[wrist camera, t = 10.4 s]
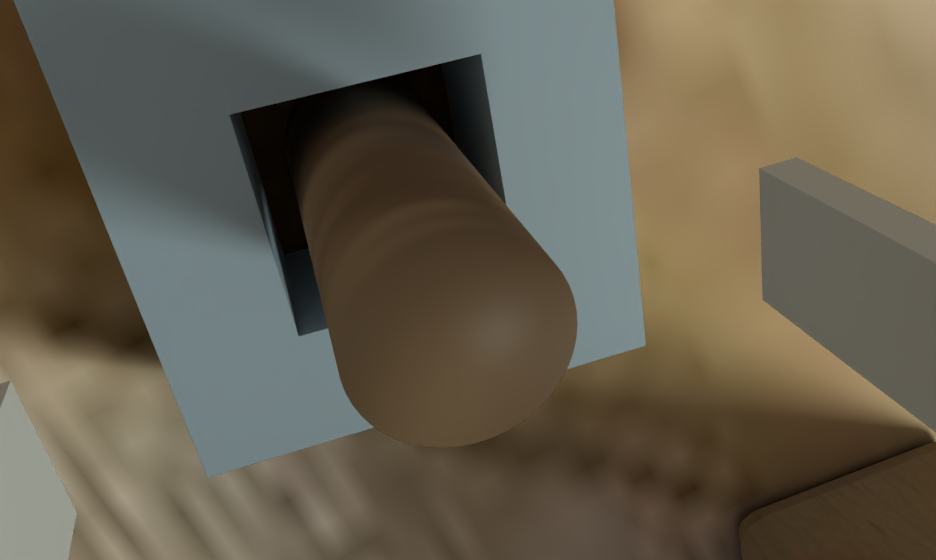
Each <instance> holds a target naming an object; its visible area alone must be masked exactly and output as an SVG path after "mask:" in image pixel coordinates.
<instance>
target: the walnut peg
mask: <svg viewBox="0 0 936 560" xmlns="http://www.w3.org/2000/svg"><path fill="white" fill-rule="evenodd" d="M284 145H285V151H286V156H287V160H288V164H289V168H290V172H291V177H292V181H293V185H294V189H295V193H296V197H297V202H298V206H299V210H300V214H301V218H302V222H303V227H304V231H305V235H306V239H307V243H308V247H309V252H310V256H311V260H312V264H313V268H314V272H315V277H316V281H317V285H318V289H319V293H320V297H321V302H322V306H323V310H324V314H325V318H326V322H327V327H328V331H329V335H330V339H331V343H332V347H333V352H334V356H335V360H336V364H337V368H338V372H339V377H340V380H341V383H342V386H343V388H344V391H345V393H346V395H347V397H348V398H349V400H350V402H351V404H352V405H353V406H354V408H355V409H356V410H357V411H358V413H359V414H360V415H361V416H362V417H363V418H364V419H365V420H366V421H367V422H368V423H369V424H370V425H372V426H373V427H375V428H376V429H378V430H379V431H381V432H382V433H384V434H386V435H388V436H390V437H392V438H394V439H396V440H399V441H402V442H405V443H408V444H413V445H417V446H422V447H434V448H448V447H458V446H465V445H470V444H474V443H478V442H482V441H484V440H487V439H490V438H493V437H495V436H497V435H499V434H502V433H504V432H506V431H508V430H510V429H511V428H513V427H514V426H516V425H518V424H519V423H521V422H522V421H524V420H525V419H526V418H527V417H529V416H530V415H531V414H533V413H534V412H535V411H536V410H537V409H538V408H539V407H540V406H541V405H542V404H543V403H544V402H545V401H546V400H547V399H548V397H549V396H550V395H551V394H552V393H553V391H554V390H555V389H556V387H557V386H558V384H559V383H560V381H561V380H562V378H563V376H564V374H565V372H566V370H567V368H568V366H569V363H570V360H571V358H572V355H573V352H574V347H575V343H576V338H577V326H578V323H577V310H576V305H575V300H574V296H573V294H572V291H571V288H570V286H569V284H568V282H567V280H566V278H565V276H564V275H563V273H562V272H561V270H560V269H559V268H558V266H557V265H556V264H555V263H554V261H553V260H552V259H551V258H550V257H549V255H548V254H547V253H546V252H545V251H544V250H543V248H542V247H541V246H540V245H539V244H538V242H537V241H536V240H535V239H534V238H533V236H532V235H531V234H530V233H529V232H528V230H527V229H526V228H525V227H524V226H523V225H522V223H521V222H520V221H519V220H518V219H517V217H516V216H515V215H514V214H513V213H512V211H511V210H510V209H509V208H508V207H507V205H506V204H505V203H504V202H503V201H502V200H501V198H500V197H499V196H498V195H497V194H496V192H495V191H494V190H493V189H492V188H491V186H490V185H489V184H488V183H487V182H486V180H485V179H484V178H483V177H482V176H481V175H480V173H479V172H478V171H477V170H476V169H475V167H474V166H473V165H472V164H471V163H470V161H469V160H468V159H467V158H466V157H465V156H464V154H463V153H462V152H461V151H460V150H459V148H458V147H457V146H456V145H455V144H454V142H453V141H452V140H451V139H450V138H449V136H448V135H447V134H446V133H445V132H444V131H443V129H442V128H441V127H440V126H439V125H438V123H437V122H436V121H435V120H434V119H433V117H432V116H431V115H430V114H429V113H428V111H427V110H426V109H425V108H424V107H423V106H422V104H421V103H420V102H419V101H418V100H417V98H416V97H415V96H414V95H413V94H412V92H411V91H410V90H409V89H408V88H407V87H406V86H405V85H404V84H403V83H402V82H400V81H399V80H397V79H396V78H395V77H393V76H387V77H383V78H379V79H375V80H371V81H366V82H362V83H358V84H354V85H350V86H346V87H342V88H338V89H333V90H329V91H325V92H321V93H317V94H313V95H309V96H305V97H300V98H296V100H295V101H294V103H293V105H292V107H291V109H290V111H289V113H288V116H287V119H286V124H285V130H284Z"/></svg>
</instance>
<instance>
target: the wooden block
mask: <svg viewBox="0 0 936 560" xmlns="http://www.w3.org/2000/svg"><path fill="white" fill-rule="evenodd" d="M739 538H740V547H741V556H742V560H936V442H931V443H928V444H926V445H923V446H920V447H918V448H915V449H913V450H910V451H907V452H905V453H902V454H900V455H897V456H895V457H892V458H889V459H887V460H884V461H882V462H879V463H876V464H874V465H871V466H869V467H866V468H864V469H861V470H858V471H856V472H853V473H851V474H848V475H845V476H843V477H840V478H838V479H835V480H833V481H830V482H827V483H825V484H822V485H820V486H817V487H814V488H812V489H809V490H807V491H804V492H801V493H799V494H796V495H794V496H791V497H789V498H786V499H783V500H781V501H778V502H776V503H773V504H770V505H768V506H765V507H763V508H760V509H758V510H755V511H753V512H752V513H751V514H749V515H748V516H747V517H746V518H745V519H744V520H742V522H741V525H740V528H739Z"/></svg>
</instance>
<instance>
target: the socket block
mask: <svg viewBox="0 0 936 560" xmlns="http://www.w3.org/2000/svg"><path fill="white" fill-rule="evenodd" d="M14 3H15V5H16V8H17V10H18V13H19V15H20V18H21V20H22V23H23V25H24V27H25V30H26V32H27V35H28V37H29V40H30V42H31V45H32V47H33V50H34V52H35V55H36V57H37V59H38V62H39V64H40V67H41V69H42V72H43V74H44V77H45V79H46V82H47V84H48V86H49V89H50V91H51V94H52V96H53V99H54V101H55V104H56V106H57V109H58V111H59V114H60V116H61V118H62V121H63V123H64V126H65V128H66V131H67V133H68V136H69V138H70V141H71V143H72V145H73V148H74V150H75V153H76V155H77V158H78V160H79V163H80V165H81V168H82V170H83V173H84V175H85V177H86V180H87V182H88V185H89V187H90V190H91V192H92V195H93V197H94V200H95V202H96V205H97V207H98V209H99V212H100V214H101V217H102V219H103V222H104V224H105V227H106V229H107V232H108V234H109V236H110V239H111V241H112V244H113V246H114V249H115V251H116V254H117V256H118V259H119V261H120V264H121V266H122V268H123V271H124V273H125V276H126V278H127V281H128V283H129V286H130V288H131V291H132V293H133V295H134V298H135V300H136V303H137V305H138V308H139V310H140V313H141V315H142V318H143V320H144V323H145V325H146V327H147V330H148V332H149V335H150V337H151V340H152V342H153V345H154V347H155V350H156V352H157V354H158V357H159V359H160V362H161V364H162V367H163V369H164V372H165V374H166V377H167V379H168V382H169V384H170V386H171V389H172V391H173V394H174V396H175V399H176V401H177V404H178V406H179V409H180V411H181V414H182V416H183V418H184V421H185V423H186V426H187V428H188V431H189V433H190V436H191V438H192V441H193V443H194V445H195V448H196V450H197V453H198V455H199V458H200V460H201V463H202V465H203V468H204V470H205V473H206V475H207V477H212V476H215V475H218V474H222V473H225V472H228V471H232V470H235V469H238V468H242V467H245V466H248V465H252V464H255V463H258V462H262V461H265V460H268V459H271V458H275V457H278V456H281V455H285V454H288V453H291V452H295V451H298V450H301V449H305V448H308V447H311V446H315V445H318V444H321V443H324V442H328V441H331V440H334V439H338V438H341V437H344V436H348V435H351V434H354V433H358V432H361V431H364V430H368V429H371V428H374V427H373V426H372V425H370V424H369V423H368V422H367V421H366V420H365V419H364V418H363V417H362V416H361V415H360V414H359V413H358V411H357V410H356V409H355V408H354V406H353V405H352V404H351V402H350V400H349V398H348V397H347V395H346V393H345V391H344V388H343V386H342V383H341V380H340V377H339V372H338V368H337V364H336V360H335V356H334V352H333V347H332V343H331V339H330V335H329V331H328V327H327V322H326V318H325V314H324V310H323V306H322V302H321V297H320V293H319V289H318V285H317V281H316V277H315V272H314V268H313V264H312V260H311V256H310V252H309V248H307V249H304V250H300V251H296V252H293V253H289V254H285V255H284V253H283V249H282V246H281V243H280V239H279V236H278V233H277V230H276V226H275V223H274V220H273V217H272V213H271V210H270V207H269V204H268V200H267V197H266V194H265V190H264V187H263V184H262V181H261V177H260V174H259V171H258V168H257V164H256V161H255V158H254V155H253V151H252V148H251V145H250V141H249V138H248V135H247V132H246V128H245V125H244V122H243V119H242V115H241V112H243V111H247V110H251V109H255V108H259V107H263V106H267V105H272V104H276V103H280V102H284V101H288V100H292V99H296V98H300V97H305V96H309V95H313V94H317V93H321V92H325V91H329V90H333V89H338V88H342V87H346V86H350V85H354V84H358V83H362V82H366V81H371V80H375V79H379V78H383V77H387V76H391V75H395V74H399V73H404V72H408V71H412V70H416V69H420V68H424V67H428V66H432V65H437V64H441V67H442V72H443V78H444V83H445V88H446V93H447V99H448V104H449V109H450V114H451V120H452V125H453V130H454V136H455V141H456V146H457V147H458V148H459V150H460V151H461V152H462V153H463V154H464V156H465V157H466V158H467V159H468V160H469V161H470V163H471V164H472V165H473V166H474V167H475V169H476V170H477V171H478V172H479V173H480V175H481V176H482V177H483V178H484V179H485V180H486V182H487V183H488V184H489V185H490V186H491V188H492V189H493V190H494V191H495V192H496V194H497V195H498V196H499V197H500V198H501V200H502V201H503V202H504V203H505V204H506V205H507V207H508V208H509V209H510V210H511V211H512V213H513V214H514V215H515V216H516V217H517V219H518V220H519V221H520V222H521V223H522V225H523V226H524V227H525V228H526V229H527V230H528V232H529V233H530V234H531V235H532V236H533V238H534V239H535V240H536V241H537V242H538V244H539V245H540V246H541V247H542V248H543V250H544V251H545V252H546V253H547V254H548V255H549V257H550V258H551V259H552V260H553V261H554V263H555V264H556V265H557V266H558V268H559V269H560V270H561V272H562V273H563V275H564V276H565V278H566V280H567V282H568V284H569V286H570V288H571V291H572V294H573V296H574V300H575V305H576V310H577V323H578V326H577V338H576V343H575V347H574V352H573V355H572V358H571V360H570V363H569V366H568V368H567V369H570V368H573V367H576V366H580V365H583V364H586V363H590V362H593V361H596V360H600V359H603V358H606V357H609V356H613V355H616V354H619V353H623V352H626V351H629V350H633V349H636V348H639V347H643V346H646V340H645V329H644V319H643V308H642V297H641V287H640V276H639V265H638V255H637V244H636V233H635V223H634V212H633V202H632V191H631V180H630V170H629V159H628V148H627V138H626V127H625V116H624V106H623V95H622V84H621V74H620V63H619V52H618V42H617V31H616V20H615V10H614V0H14Z"/></svg>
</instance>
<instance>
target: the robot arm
mask: <svg viewBox="0 0 936 560" xmlns="http://www.w3.org/2000/svg"><path fill="white" fill-rule="evenodd" d="M759 172H760V212H761V253H762V293H763V300H764V301H765V302H766V303H768V304H769V305H770V306H771V307H773V308H774V309H775V310H777V311H778V312H779V313H781V314H782V315H783V316H785V317H786V318H787V319H788V320H790V321H791V322H792V323H794V324H795V325H796V326H798V327H799V328H800V329H802V330H803V331H804V332H805V333H807V334H808V335H809V336H811V337H812V338H813V339H815V340H816V341H817V342H818V343H820V344H821V345H822V346H824V347H825V348H826V349H828V350H829V351H830V352H832V353H833V354H834V355H835V356H837V357H838V358H839V359H841V360H842V361H843V362H845V363H846V364H847V365H849V366H850V367H851V368H852V369H854V370H855V371H856V372H858V373H859V374H860V375H862V376H863V377H864V378H866V379H867V380H868V381H869V382H871V383H872V384H873V385H875V386H876V387H877V388H879V389H880V390H881V391H882V392H884V393H885V394H886V395H888V396H889V397H890V398H892V399H893V400H894V401H896V402H897V403H898V404H899V405H901V406H902V407H903V408H905V409H906V410H907V411H909V412H910V413H911V414H913V415H914V416H915V417H916V418H918V419H919V420H920V421H922V422H923V423H924V424H926V425H927V426H928V427H929V428H931V429H932V430H933V431H935V432H936V225H935V224H933V223H931V222H929V221H927V220H925V219H923V218H921V217H919V216H917V215H915V214H913V213H910V212H908V211H906V210H904V209H902V208H900V207H898V206H896V205H894V204H892V203H890V202H888V201H886V200H884V199H881V198H879V197H877V196H875V195H873V194H871V193H869V192H867V191H865V190H863V189H861V188H859V187H857V186H855V185H853V184H850V183H848V182H846V181H844V180H842V179H840V178H838V177H836V176H834V175H832V174H830V173H828V172H826V171H824V170H822V169H819V168H817V167H815V166H813V165H811V164H809V163H807V162H805V161H803V160H801V159H799V158H794V159H791V160H787V161H784V162H780V163H777V164H773V165H770V166H766V167H762V168H759ZM76 514H77V512H76V510H75V508H74V506H73V504H72V502H71V500H70V498H69V496H68V494H67V492H66V490H65V488H64V486H63V484H62V482H61V480H60V478H59V476H58V475H57V473H56V471H55V469H54V467H53V465H52V463H51V461H50V459H49V457H48V455H47V453H46V451H45V449H44V447H43V445H42V443H41V441H40V439H39V437H38V435H37V433H36V431H35V429H34V427H33V425H32V423H31V421H30V419H29V417H28V415H27V413H26V411H25V409H24V407H23V405H22V403H21V401H20V399H19V397H18V395H17V393H16V391H15V389H14V387H13V385H12V383H11V381H8V382H5V383H1V384H0V560H68V556H69V551H70V546H71V540H72V535H73V530H74V525H75V520H76Z"/></svg>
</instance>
